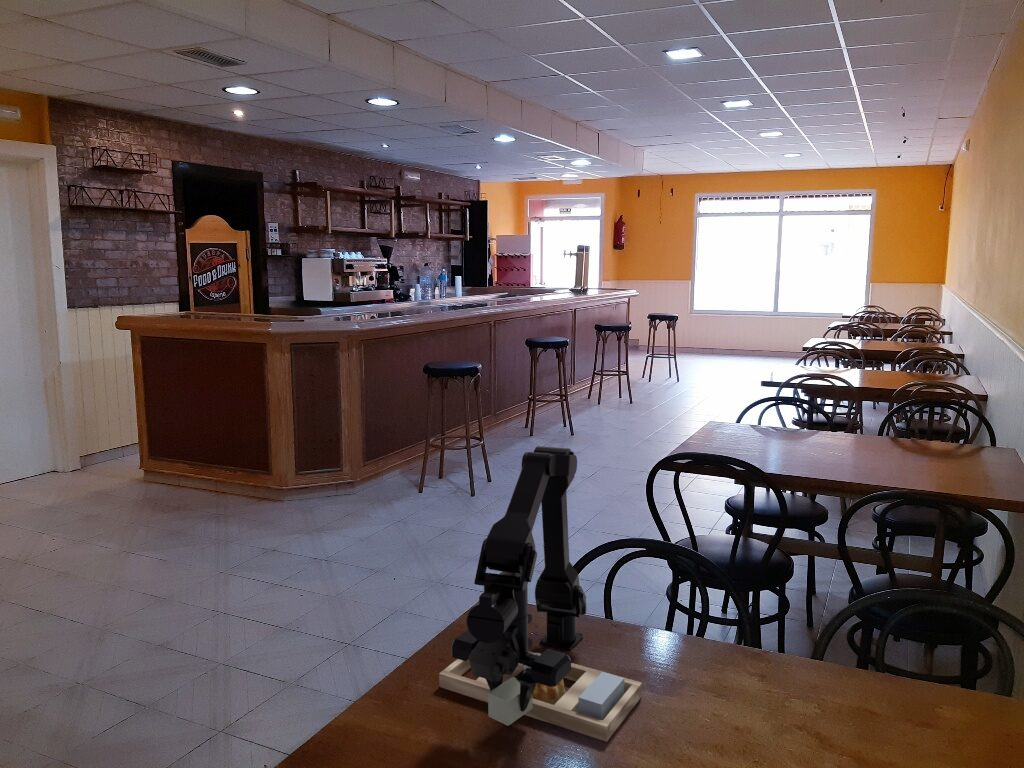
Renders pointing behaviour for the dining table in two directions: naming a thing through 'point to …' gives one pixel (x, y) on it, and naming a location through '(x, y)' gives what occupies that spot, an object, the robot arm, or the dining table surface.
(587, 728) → the frame
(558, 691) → the pastry
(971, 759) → the dining table surface
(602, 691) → the wing block
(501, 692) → the block
